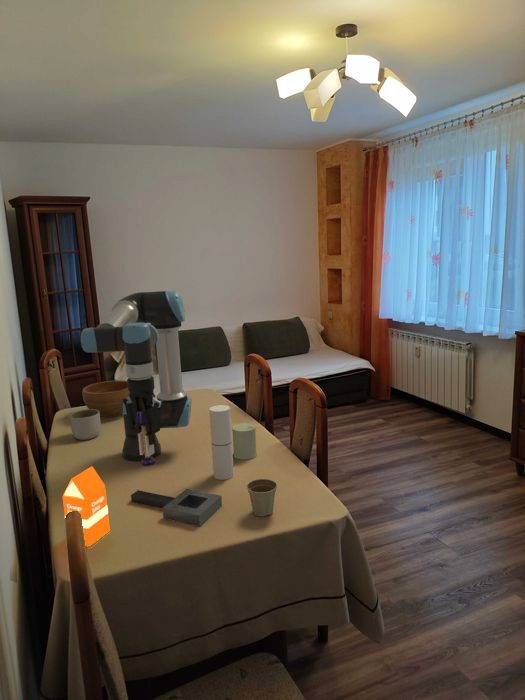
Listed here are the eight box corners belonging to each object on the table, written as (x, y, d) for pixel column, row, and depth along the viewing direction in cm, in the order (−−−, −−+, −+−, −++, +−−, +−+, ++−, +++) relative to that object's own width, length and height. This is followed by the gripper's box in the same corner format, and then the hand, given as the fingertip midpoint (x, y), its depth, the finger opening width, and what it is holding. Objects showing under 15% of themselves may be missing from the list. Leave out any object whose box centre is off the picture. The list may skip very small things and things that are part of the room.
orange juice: (67, 543, 141) (59, 477, 137) (89, 527, 149) (81, 464, 145) (90, 548, 138) (82, 481, 134) (110, 531, 146) (103, 467, 142)
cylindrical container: (218, 481, 175) (213, 412, 170) (210, 473, 181) (206, 407, 176) (236, 476, 178) (233, 409, 173) (228, 469, 184) (225, 403, 180)
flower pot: (246, 505, 158) (245, 479, 156) (276, 502, 159) (275, 477, 157) (248, 520, 149) (247, 493, 147) (280, 518, 149) (279, 491, 148)
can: (254, 460, 192) (252, 430, 189) (230, 459, 194) (229, 429, 191) (259, 450, 200) (257, 422, 198) (236, 449, 202) (235, 421, 200)
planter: (66, 440, 221) (63, 416, 218) (85, 430, 232) (83, 408, 230) (88, 443, 216) (86, 419, 214) (107, 433, 227) (105, 410, 225)
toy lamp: (144, 468, 147) (140, 413, 143) (135, 463, 150) (131, 410, 146) (158, 462, 150) (154, 409, 147) (149, 458, 153) (145, 406, 150)
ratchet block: (121, 508, 159) (120, 498, 158) (147, 490, 170) (146, 481, 170) (200, 526, 147) (199, 515, 146) (222, 505, 158) (221, 495, 157)
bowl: (99, 407, 266) (96, 380, 263) (144, 408, 262) (142, 380, 259) (75, 424, 242) (72, 393, 239) (125, 424, 238) (122, 394, 235)
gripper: (111, 378, 145) (119, 455, 149) (152, 382, 138) (159, 462, 143) (129, 372, 151) (136, 445, 156) (169, 375, 145) (175, 452, 149)
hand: (147, 453), depth 149 cm, fingers closed on toy lamp, 2 cm apart
